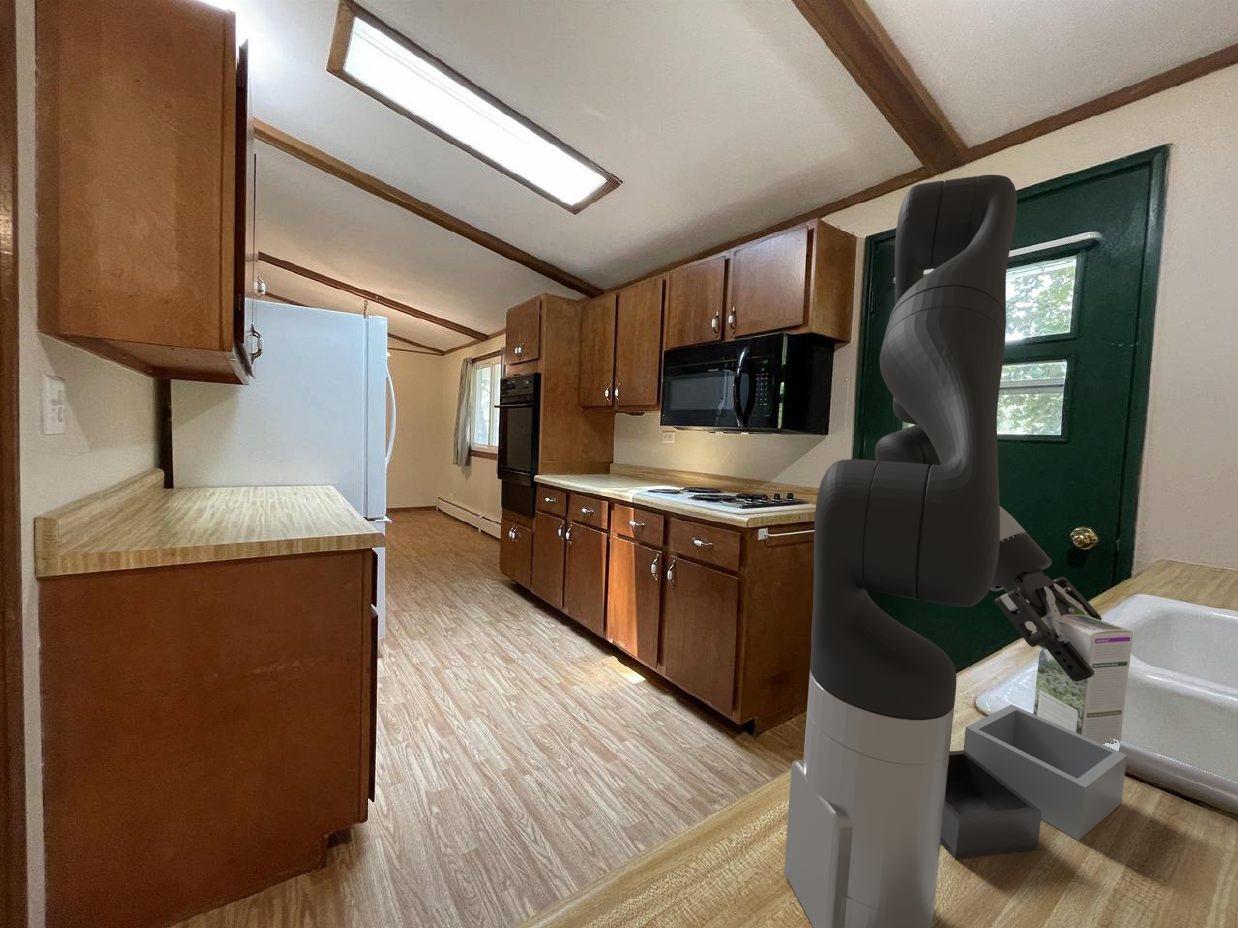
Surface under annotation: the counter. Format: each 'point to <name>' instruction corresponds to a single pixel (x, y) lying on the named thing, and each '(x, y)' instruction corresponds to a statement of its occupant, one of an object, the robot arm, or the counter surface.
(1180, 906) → the counter surface
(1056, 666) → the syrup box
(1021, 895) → the counter surface
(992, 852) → the bin
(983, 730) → the light gray open bin
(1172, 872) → the counter surface
